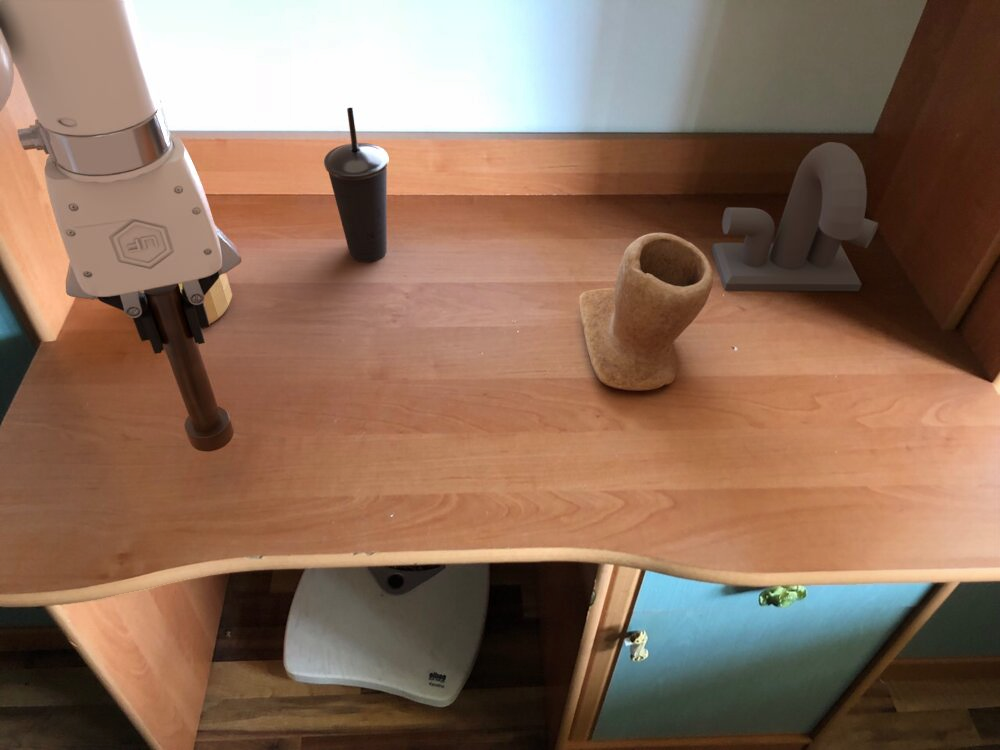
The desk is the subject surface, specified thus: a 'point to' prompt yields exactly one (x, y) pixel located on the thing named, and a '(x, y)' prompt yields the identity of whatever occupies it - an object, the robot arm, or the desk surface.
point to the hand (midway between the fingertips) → (178, 336)
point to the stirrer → (189, 371)
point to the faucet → (802, 230)
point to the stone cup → (645, 311)
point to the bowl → (216, 298)
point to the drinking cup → (360, 194)
